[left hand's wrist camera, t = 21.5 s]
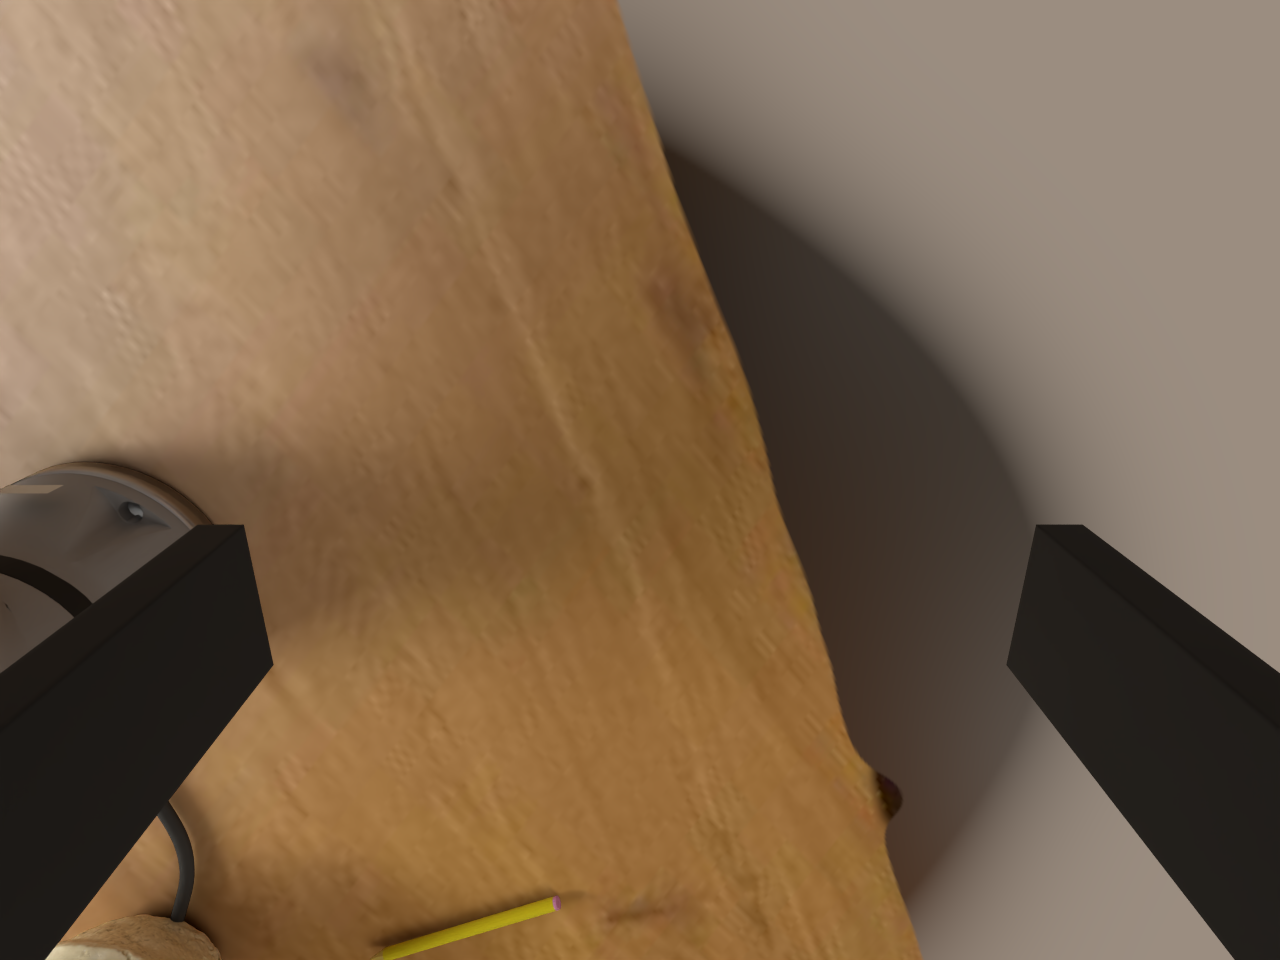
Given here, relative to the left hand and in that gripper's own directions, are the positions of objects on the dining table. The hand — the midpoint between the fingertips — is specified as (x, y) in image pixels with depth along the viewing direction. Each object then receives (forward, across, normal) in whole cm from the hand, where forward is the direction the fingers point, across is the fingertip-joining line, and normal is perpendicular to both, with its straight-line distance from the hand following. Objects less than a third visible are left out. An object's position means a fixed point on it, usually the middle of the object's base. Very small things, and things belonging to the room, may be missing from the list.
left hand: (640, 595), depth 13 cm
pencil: (+31, +14, +48) cm, 59 cm away
